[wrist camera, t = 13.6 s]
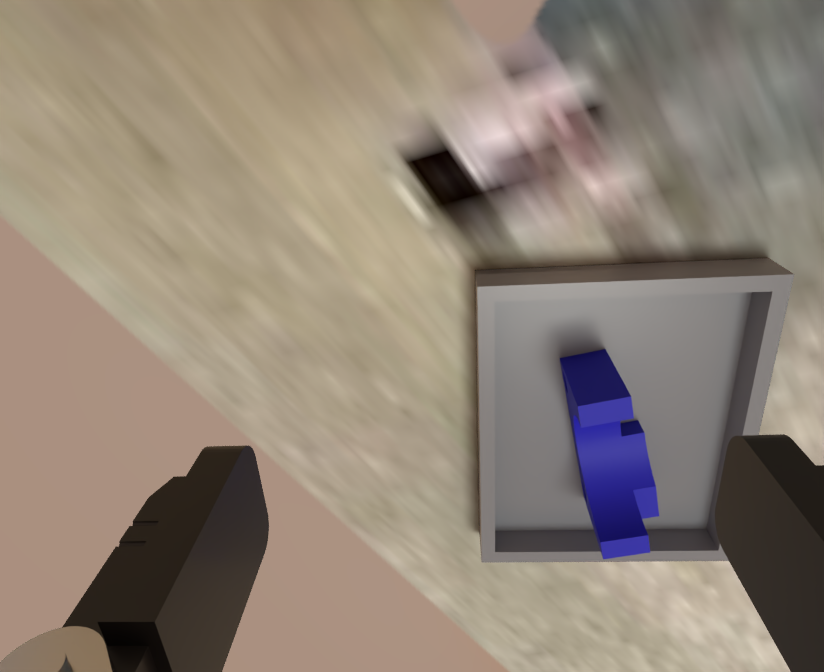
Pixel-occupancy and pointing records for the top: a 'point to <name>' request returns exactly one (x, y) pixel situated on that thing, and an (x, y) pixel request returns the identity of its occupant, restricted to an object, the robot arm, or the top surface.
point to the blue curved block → (609, 454)
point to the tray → (644, 379)
